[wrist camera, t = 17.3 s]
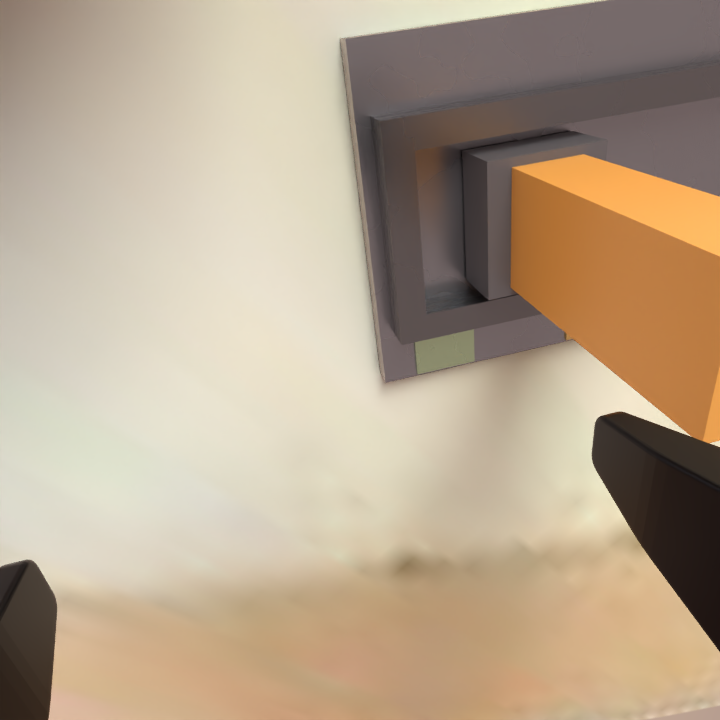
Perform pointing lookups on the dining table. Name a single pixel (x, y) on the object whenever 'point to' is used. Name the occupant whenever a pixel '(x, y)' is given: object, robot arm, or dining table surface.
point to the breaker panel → (508, 124)
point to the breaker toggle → (605, 263)
